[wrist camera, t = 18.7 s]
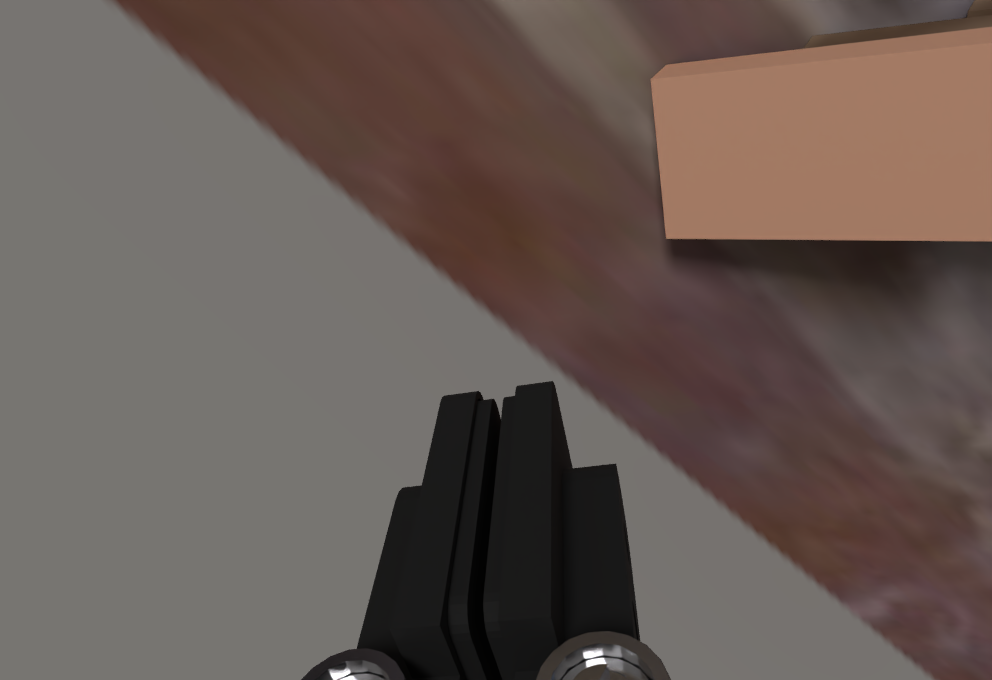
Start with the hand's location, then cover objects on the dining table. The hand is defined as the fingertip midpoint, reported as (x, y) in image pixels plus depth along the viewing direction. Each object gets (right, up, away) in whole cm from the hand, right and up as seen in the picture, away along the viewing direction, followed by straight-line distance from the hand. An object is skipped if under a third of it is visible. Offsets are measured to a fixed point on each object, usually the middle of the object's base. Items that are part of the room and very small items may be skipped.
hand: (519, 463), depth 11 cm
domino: (+5, +8, +11) cm, 14 cm away
